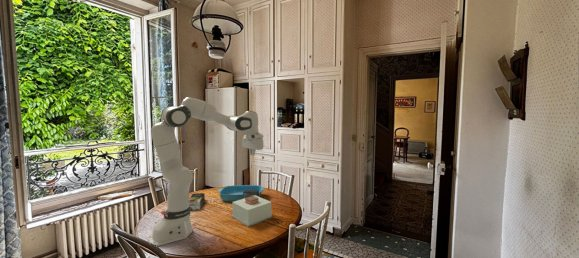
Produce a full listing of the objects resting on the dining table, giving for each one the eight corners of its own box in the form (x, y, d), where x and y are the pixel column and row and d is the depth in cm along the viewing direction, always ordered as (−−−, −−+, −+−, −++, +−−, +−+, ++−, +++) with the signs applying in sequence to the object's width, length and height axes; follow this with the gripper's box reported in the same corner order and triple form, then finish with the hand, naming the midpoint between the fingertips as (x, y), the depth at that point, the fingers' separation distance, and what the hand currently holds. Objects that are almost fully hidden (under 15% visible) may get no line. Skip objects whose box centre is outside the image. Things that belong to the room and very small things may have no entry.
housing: (248, 226, 139) (247, 210, 139) (231, 217, 153) (231, 202, 152) (272, 216, 152) (272, 202, 152) (255, 208, 166) (255, 194, 165)
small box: (259, 203, 176) (259, 189, 176) (257, 206, 170) (257, 192, 169) (245, 202, 178) (245, 189, 177) (243, 206, 171) (242, 191, 170)
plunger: (250, 218, 148) (250, 200, 147) (245, 215, 153) (245, 198, 152) (258, 215, 152) (258, 198, 152) (253, 212, 157) (252, 195, 156)
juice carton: (200, 210, 165) (200, 201, 164) (185, 211, 163) (185, 202, 162) (205, 200, 184) (205, 192, 184) (192, 201, 183) (191, 193, 182)
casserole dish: (214, 203, 177) (214, 194, 177) (222, 193, 200) (222, 185, 199) (263, 202, 177) (262, 193, 177) (265, 192, 200) (265, 184, 199)
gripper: (239, 134, 163) (240, 154, 164) (257, 136, 149) (257, 157, 150) (247, 133, 168) (247, 152, 169) (264, 135, 153) (265, 156, 154)
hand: (252, 155), depth 159 cm, fingers closed
